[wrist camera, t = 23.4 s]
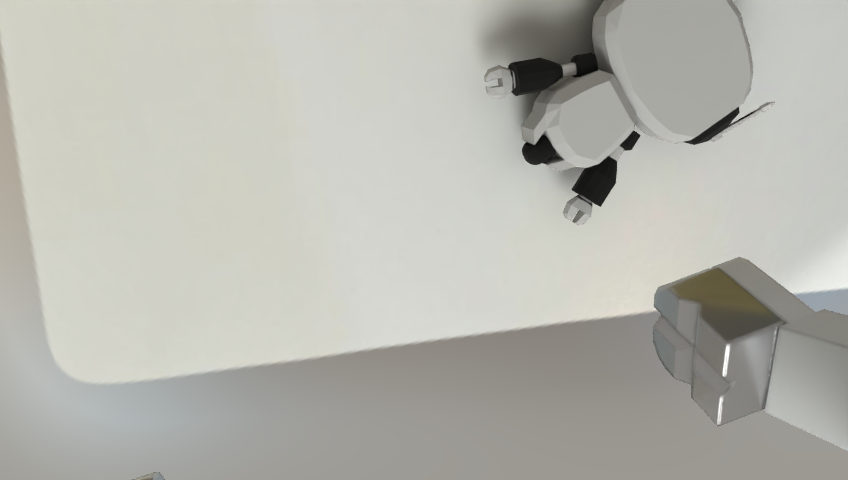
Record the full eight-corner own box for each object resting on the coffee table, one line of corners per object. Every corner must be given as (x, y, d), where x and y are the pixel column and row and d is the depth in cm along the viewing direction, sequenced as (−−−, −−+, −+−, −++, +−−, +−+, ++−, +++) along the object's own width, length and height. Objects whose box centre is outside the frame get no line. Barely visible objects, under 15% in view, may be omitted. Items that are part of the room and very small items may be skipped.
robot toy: (558, 227, 47) (744, 95, 47) (585, 245, 42) (789, 101, 42) (459, 70, 43) (661, -74, 43) (478, 73, 39) (702, -87, 39)
